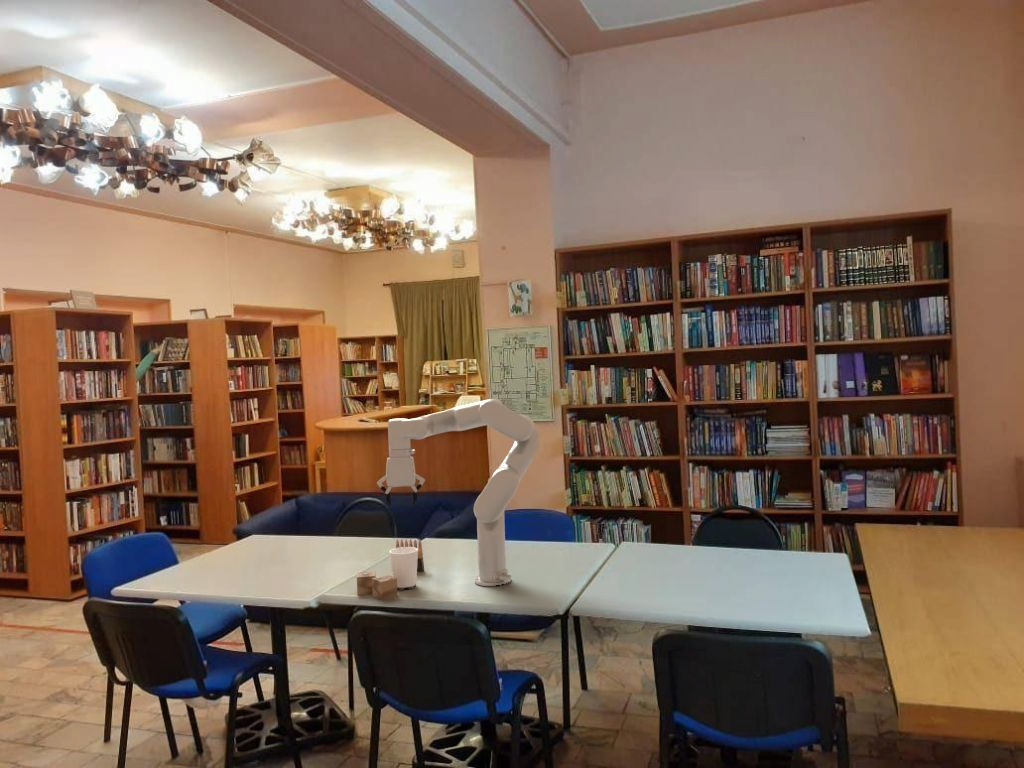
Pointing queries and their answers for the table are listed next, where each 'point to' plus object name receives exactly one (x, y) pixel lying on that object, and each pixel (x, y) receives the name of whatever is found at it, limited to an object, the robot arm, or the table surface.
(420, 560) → the ammunition clip
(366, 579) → the walnut block one dot
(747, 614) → the table surface
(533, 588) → the table surface
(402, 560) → the cup
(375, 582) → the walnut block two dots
